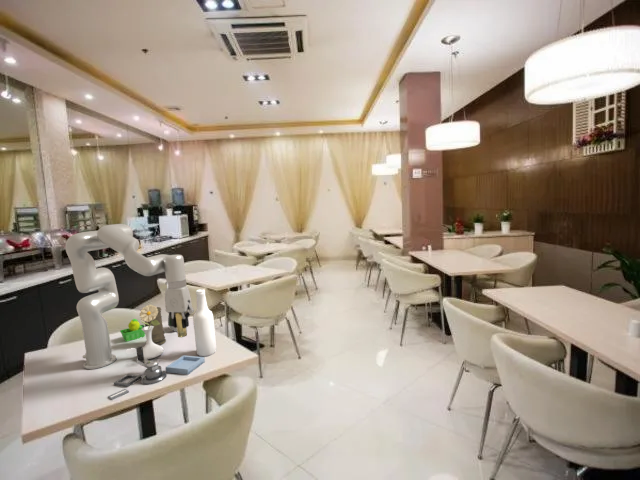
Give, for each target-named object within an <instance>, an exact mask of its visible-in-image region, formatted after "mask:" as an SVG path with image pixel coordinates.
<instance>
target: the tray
mask: <svg viewBox="0 0 640 480" xmlns="http://www.w3.org/2000/svg"><path fill="white" fill-rule="evenodd" d="M205 362H206V361H205V356H204V357H202V356H194V355H186V354H185V355H181V356H180V357H179V358H177V359H175V360H174V361H172V362H171V363H169V364H167V366H165V372H166V373H171V374H180V375H181V374H182V375H190V374H191V373H192V372H194V371H195V370H197V369H198V368H199V367H200V366H202V365H203V364H204V363H205ZM194 369H195V370H194ZM193 370H194V371H193Z"/></svg>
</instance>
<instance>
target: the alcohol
mask: <svg viewBox="0 0 640 480" xmlns="http://www.w3.org/2000/svg"><path fill="white" fill-rule="evenodd" d="M195 295H196V310H195V311H194V312H193V318H192V321H193V331H194V339H195V341H194V342H195V349H196V354H197V356H198V357H204V358H205V357H209V356H212V355H214V354H215V353H216V351H217V342H216V341H217V340H216V333H215V332H216V329H215V321H214V320H215V319H214V314H213V311H212V310H210V309H209V306H208V302H207V297H206V289H204V288H200V289H197V290H195Z"/></svg>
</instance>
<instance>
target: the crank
mask: <svg viewBox="0 0 640 480" xmlns="http://www.w3.org/2000/svg"><path fill="white" fill-rule="evenodd" d="M143 347H144V346H142V345H139V346H136V348H135V351H136V358H137V359H136V364H138V365H140V366H142V367H144V368H146V369H147V368H148V369H150V370H152V371H154V370H156V369H158V366H159V360H158V359H151V360H150V359H145V358H144V354H143Z"/></svg>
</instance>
